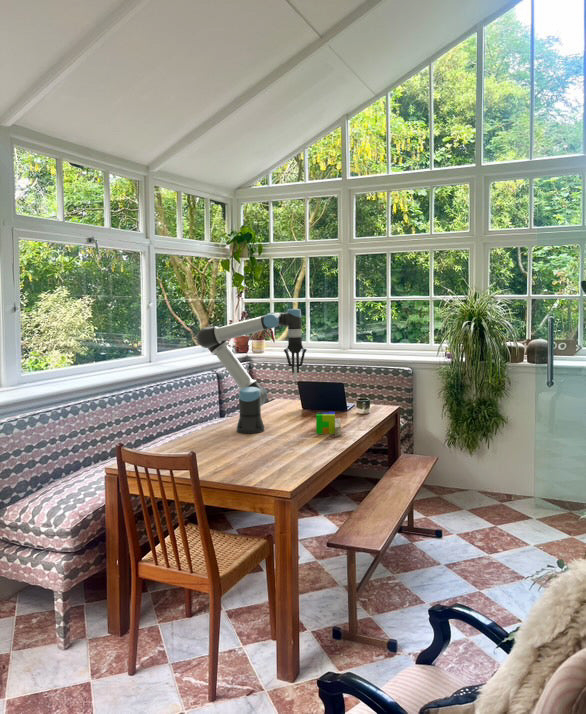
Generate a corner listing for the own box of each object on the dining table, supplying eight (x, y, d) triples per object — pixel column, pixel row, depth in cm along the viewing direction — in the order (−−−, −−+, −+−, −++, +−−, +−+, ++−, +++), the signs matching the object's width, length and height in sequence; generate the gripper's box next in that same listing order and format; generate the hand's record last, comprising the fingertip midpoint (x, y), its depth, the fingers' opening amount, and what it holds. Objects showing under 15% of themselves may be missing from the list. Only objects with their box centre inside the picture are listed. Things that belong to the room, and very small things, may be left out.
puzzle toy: (335, 429, 343) (335, 411, 342) (335, 433, 333) (335, 415, 332) (316, 429, 344) (316, 411, 342) (316, 433, 334) (316, 415, 332)
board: (335, 436, 327) (335, 426, 326) (335, 427, 349) (335, 418, 348) (340, 436, 327) (340, 426, 326) (340, 427, 348) (340, 418, 348)
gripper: (282, 337, 344) (283, 379, 346) (305, 337, 342) (306, 379, 344) (284, 336, 351) (285, 377, 354) (307, 336, 349) (308, 377, 352)
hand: (295, 378), depth 349 cm, fingers closed
